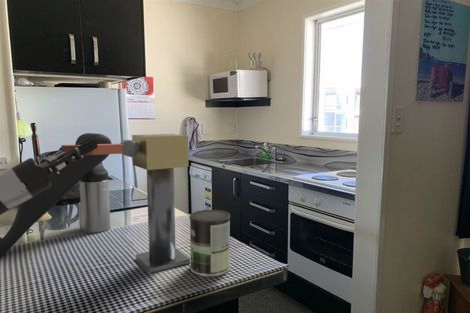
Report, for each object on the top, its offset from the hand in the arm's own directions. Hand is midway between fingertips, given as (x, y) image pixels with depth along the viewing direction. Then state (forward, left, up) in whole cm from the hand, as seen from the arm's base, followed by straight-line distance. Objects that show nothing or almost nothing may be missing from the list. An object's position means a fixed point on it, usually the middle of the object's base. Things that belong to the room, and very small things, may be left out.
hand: (93, 142), depth 82 cm
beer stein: (-67, +60, -33) cm, 96 cm away
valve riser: (+10, +13, -33) cm, 37 cm away
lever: (+1, +1, -4) cm, 4 cm away
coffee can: (+24, +13, -33) cm, 43 cm away
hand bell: (-55, +33, -33) cm, 72 cm away
